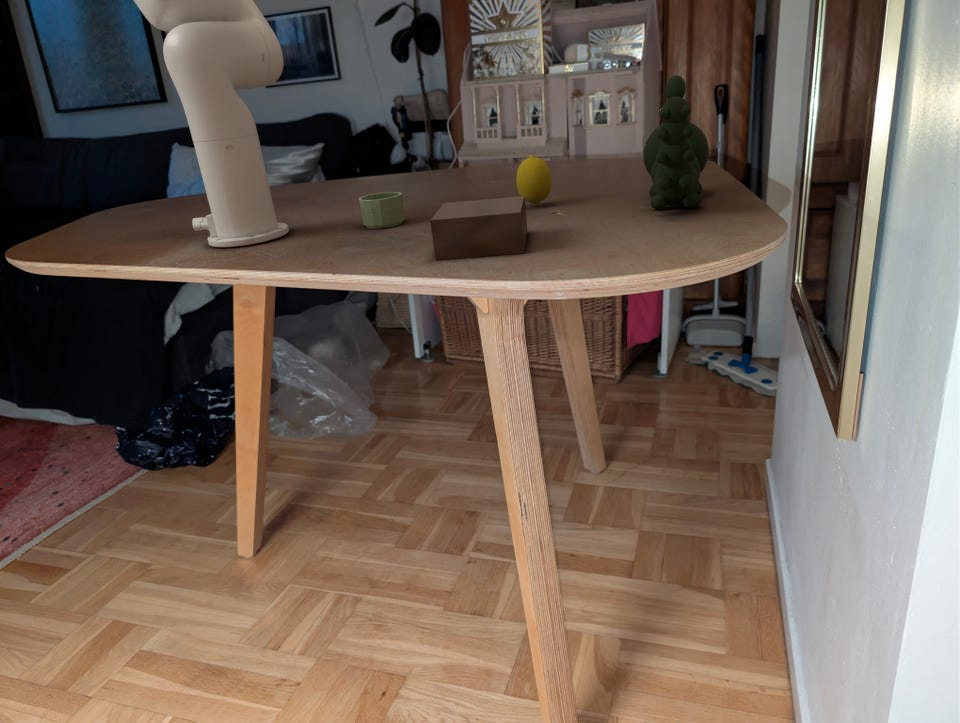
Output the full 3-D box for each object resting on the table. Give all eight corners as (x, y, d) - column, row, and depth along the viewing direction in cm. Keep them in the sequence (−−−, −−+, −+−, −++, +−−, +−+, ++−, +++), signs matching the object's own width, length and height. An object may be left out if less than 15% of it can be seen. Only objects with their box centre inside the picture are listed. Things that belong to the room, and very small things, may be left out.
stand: (435, 260, 87) (429, 220, 85) (448, 239, 97) (443, 203, 95) (523, 253, 85) (520, 212, 83) (527, 232, 95) (524, 195, 93)
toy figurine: (712, 231, 92) (706, 180, 113) (716, 77, 83) (708, 54, 104) (638, 234, 95) (646, 184, 116) (635, 85, 86) (643, 61, 107)
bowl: (358, 230, 109) (353, 202, 107) (369, 221, 115) (364, 194, 114) (401, 227, 108) (396, 198, 106) (409, 218, 114) (405, 190, 113)
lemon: (531, 202, 116) (527, 152, 113) (559, 203, 112) (556, 151, 109) (511, 209, 112) (507, 157, 109) (540, 210, 109) (536, 157, 105)
